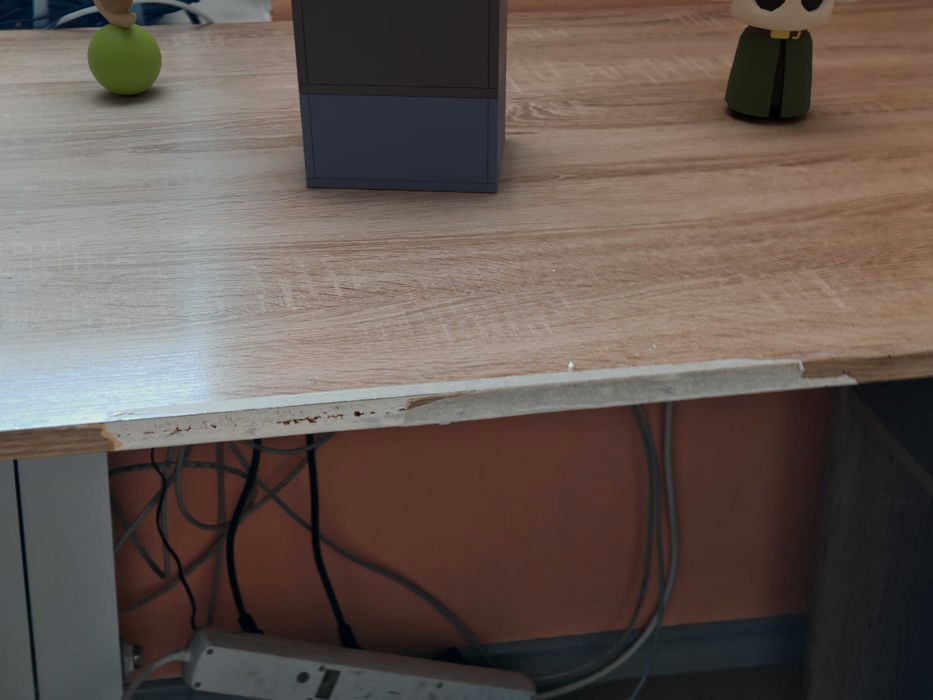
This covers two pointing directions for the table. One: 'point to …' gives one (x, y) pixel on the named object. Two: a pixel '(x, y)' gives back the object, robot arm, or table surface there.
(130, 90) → the figurine on green ball
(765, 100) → the green robed panda doll
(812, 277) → the table surface
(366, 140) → the box
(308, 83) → the box
